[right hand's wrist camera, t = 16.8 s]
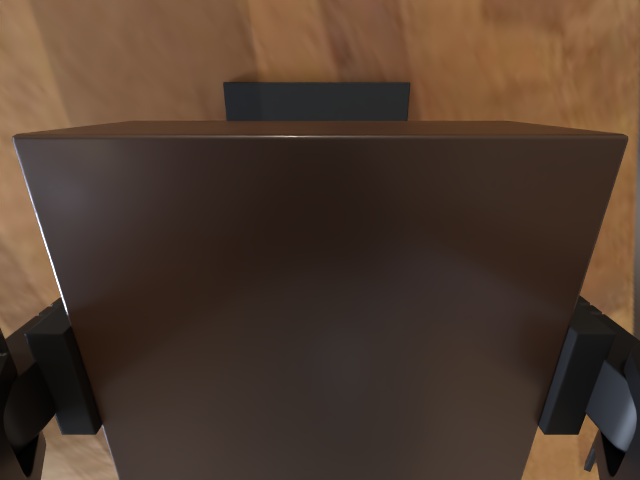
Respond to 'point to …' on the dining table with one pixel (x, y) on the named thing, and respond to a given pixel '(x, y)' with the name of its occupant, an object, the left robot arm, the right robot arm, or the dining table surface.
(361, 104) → the slate mat
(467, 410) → the walnut cap
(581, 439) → the dining table surface
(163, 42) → the dining table surface
